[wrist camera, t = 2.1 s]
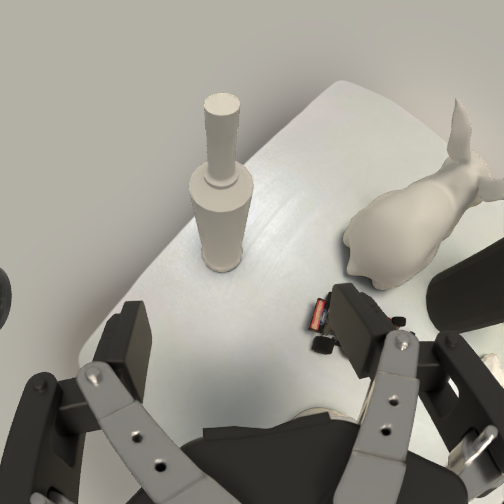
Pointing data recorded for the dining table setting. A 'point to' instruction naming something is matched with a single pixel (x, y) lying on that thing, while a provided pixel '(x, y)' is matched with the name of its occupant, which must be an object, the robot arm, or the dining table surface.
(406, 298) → the dining table surface
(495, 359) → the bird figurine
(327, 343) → the toy car
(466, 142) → the rabbit
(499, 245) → the vase
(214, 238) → the bottle
